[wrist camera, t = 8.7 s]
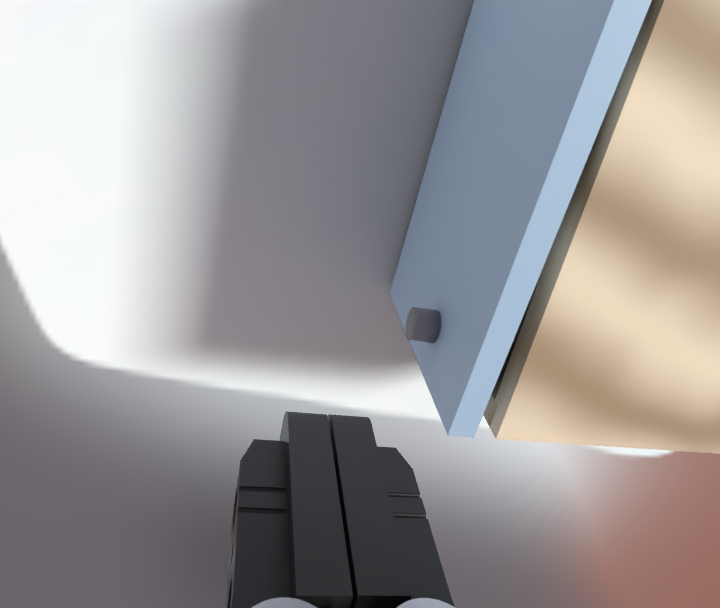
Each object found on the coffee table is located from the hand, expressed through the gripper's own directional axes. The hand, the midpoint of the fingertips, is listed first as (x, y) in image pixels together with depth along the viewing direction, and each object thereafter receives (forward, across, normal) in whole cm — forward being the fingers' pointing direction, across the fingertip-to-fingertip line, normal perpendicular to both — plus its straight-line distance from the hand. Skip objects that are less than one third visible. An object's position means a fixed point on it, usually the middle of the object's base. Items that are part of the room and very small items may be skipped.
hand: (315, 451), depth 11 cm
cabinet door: (+25, -9, -12) cm, 29 cm away
